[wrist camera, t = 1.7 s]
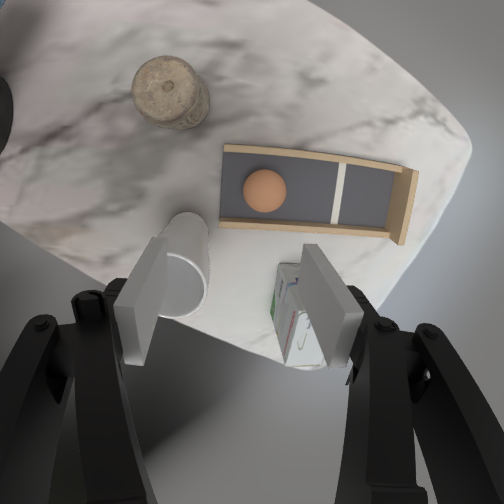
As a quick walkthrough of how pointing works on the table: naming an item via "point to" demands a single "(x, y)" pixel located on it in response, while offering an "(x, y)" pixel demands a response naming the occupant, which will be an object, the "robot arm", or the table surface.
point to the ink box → (293, 321)
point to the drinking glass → (186, 265)
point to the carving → (170, 93)
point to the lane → (320, 193)
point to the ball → (264, 190)
